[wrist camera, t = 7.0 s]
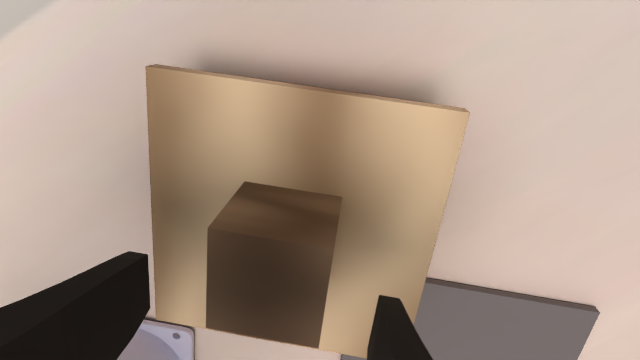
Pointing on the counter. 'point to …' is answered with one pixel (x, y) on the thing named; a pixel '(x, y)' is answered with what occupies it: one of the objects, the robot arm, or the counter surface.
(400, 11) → the counter surface
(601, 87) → the counter surface
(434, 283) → the mat
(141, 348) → the robot arm
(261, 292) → the lid
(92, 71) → the counter surface
